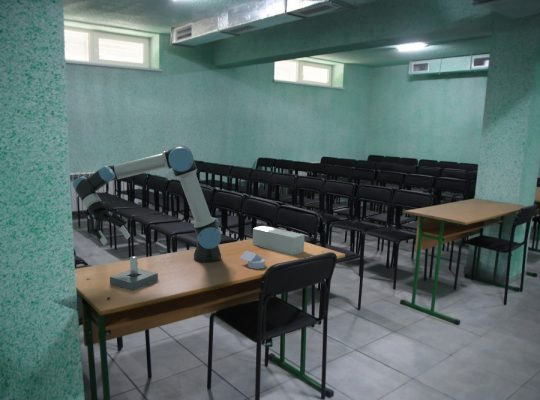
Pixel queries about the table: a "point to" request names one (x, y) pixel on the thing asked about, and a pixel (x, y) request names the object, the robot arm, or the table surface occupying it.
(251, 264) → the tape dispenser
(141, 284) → the hole block
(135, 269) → the peg
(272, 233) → the long white box
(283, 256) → the table surface
